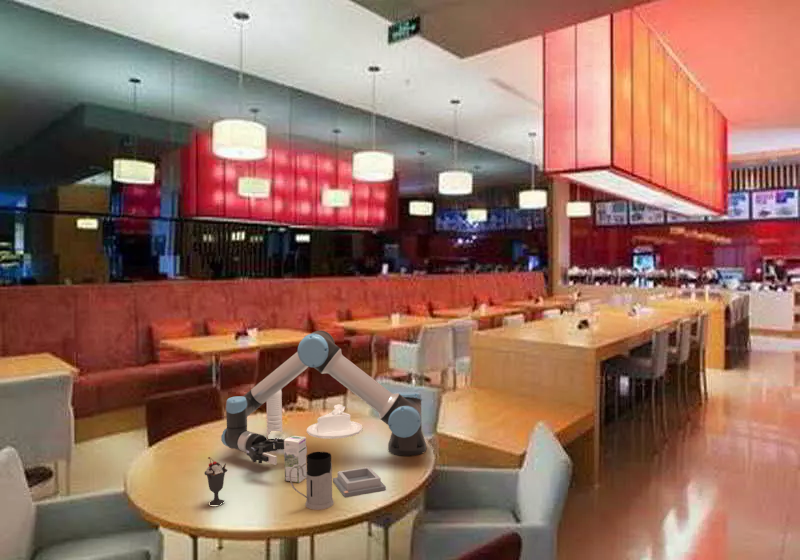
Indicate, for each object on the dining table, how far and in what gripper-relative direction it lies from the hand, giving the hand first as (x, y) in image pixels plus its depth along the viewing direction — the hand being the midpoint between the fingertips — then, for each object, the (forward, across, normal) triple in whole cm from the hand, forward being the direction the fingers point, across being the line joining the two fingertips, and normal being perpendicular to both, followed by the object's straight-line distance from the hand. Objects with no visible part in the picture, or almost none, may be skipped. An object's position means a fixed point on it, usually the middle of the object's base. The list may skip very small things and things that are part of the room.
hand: (291, 455), depth 193 cm
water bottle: (-42, -27, -8) cm, 50 cm away
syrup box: (+2, 0, -8) cm, 9 cm away
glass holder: (+22, +11, -8) cm, 26 cm away
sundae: (-4, +28, -8) cm, 29 cm away
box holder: (+23, -9, -8) cm, 26 cm away
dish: (-28, -50, -9) cm, 58 cm away
